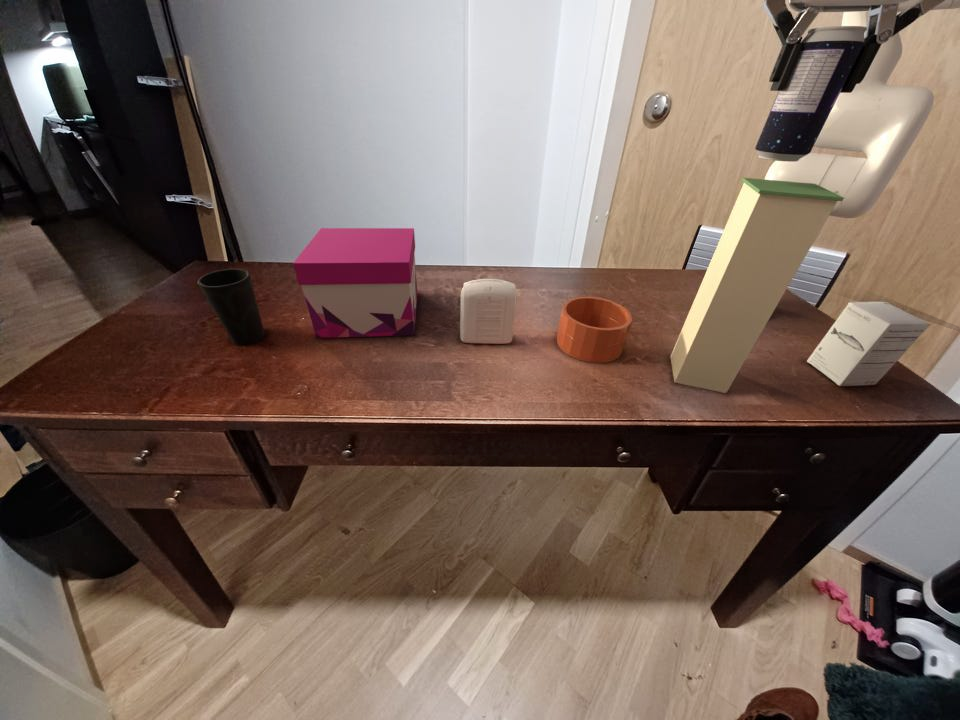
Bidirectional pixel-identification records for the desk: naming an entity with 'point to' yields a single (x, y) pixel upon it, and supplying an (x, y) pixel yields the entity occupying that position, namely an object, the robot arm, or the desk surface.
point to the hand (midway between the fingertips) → (809, 89)
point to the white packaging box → (866, 342)
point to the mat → (791, 189)
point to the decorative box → (360, 281)
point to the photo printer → (487, 311)
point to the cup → (234, 304)
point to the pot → (593, 329)
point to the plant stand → (744, 284)
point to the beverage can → (810, 92)
